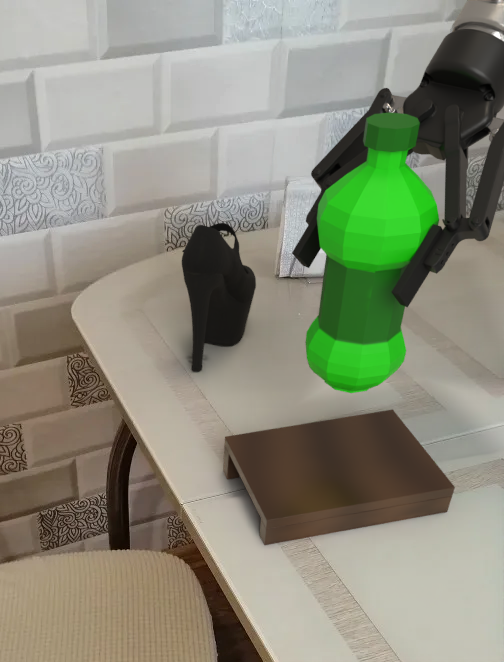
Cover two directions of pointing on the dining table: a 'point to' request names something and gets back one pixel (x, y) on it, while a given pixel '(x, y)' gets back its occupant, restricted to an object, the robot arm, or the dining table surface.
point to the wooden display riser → (336, 475)
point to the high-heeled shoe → (216, 289)
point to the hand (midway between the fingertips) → (347, 279)
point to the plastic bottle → (368, 258)
